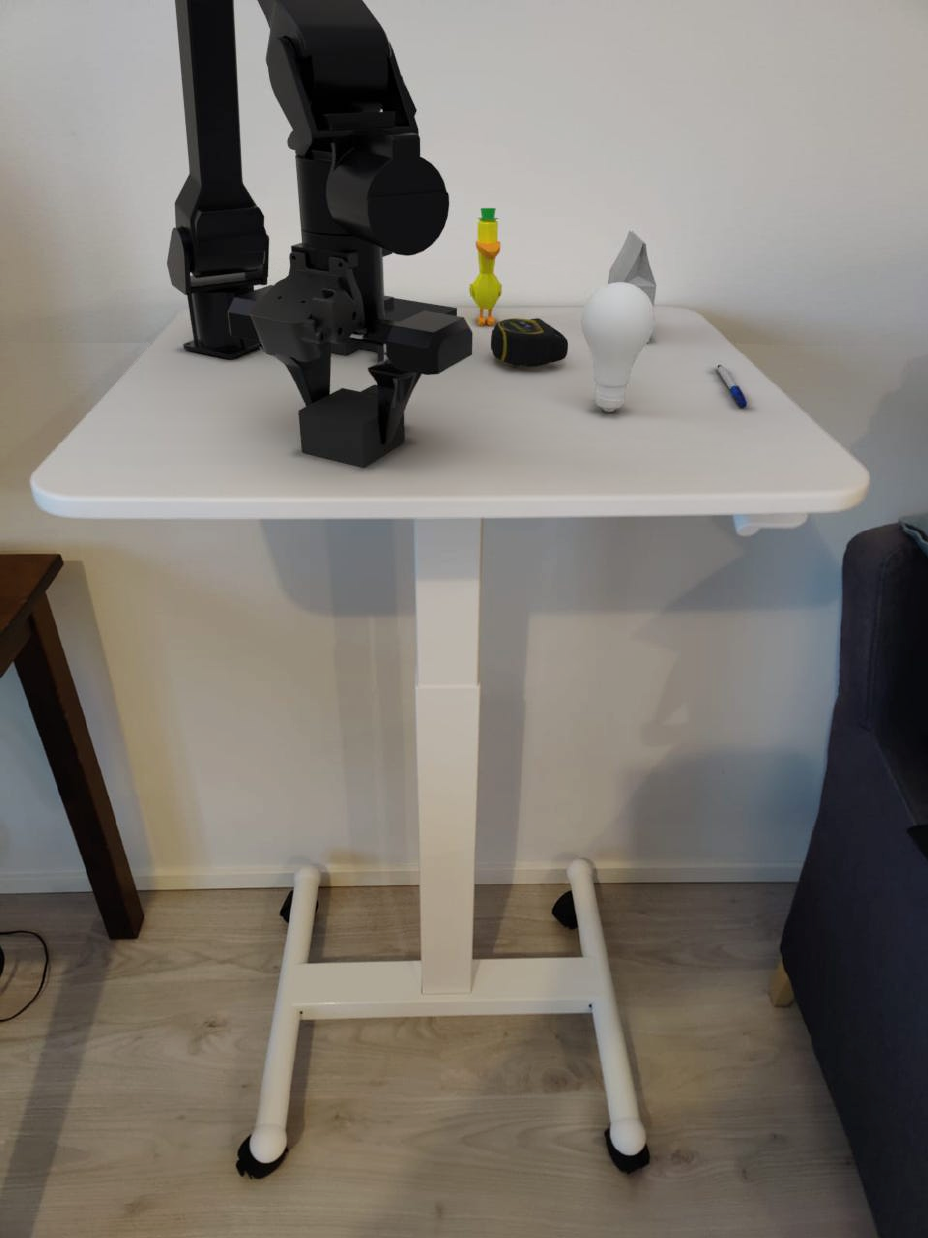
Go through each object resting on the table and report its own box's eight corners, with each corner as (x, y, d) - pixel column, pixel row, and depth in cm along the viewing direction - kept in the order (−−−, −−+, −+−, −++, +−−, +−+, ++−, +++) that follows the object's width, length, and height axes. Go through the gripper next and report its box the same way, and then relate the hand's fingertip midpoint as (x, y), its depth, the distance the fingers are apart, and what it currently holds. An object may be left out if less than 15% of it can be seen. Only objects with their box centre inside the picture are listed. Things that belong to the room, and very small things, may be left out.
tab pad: (301, 452, 74) (297, 410, 72) (357, 419, 79) (355, 380, 77) (364, 468, 71) (362, 425, 69) (417, 433, 77) (417, 393, 75)
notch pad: (317, 349, 95) (314, 315, 93) (370, 325, 103) (369, 293, 101) (408, 367, 91) (407, 331, 89) (456, 341, 98) (457, 307, 96)
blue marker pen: (749, 408, 83) (751, 397, 82) (739, 408, 83) (741, 397, 82) (721, 370, 91) (723, 360, 91) (712, 369, 91) (714, 359, 91)
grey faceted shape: (615, 342, 99) (625, 243, 93) (603, 324, 104) (613, 230, 99) (649, 342, 99) (661, 243, 93) (636, 324, 105) (647, 230, 99)
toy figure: (505, 331, 101) (509, 214, 95) (473, 332, 101) (474, 214, 94) (497, 315, 107) (501, 203, 100) (467, 315, 107) (468, 203, 100)
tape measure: (569, 370, 91) (572, 332, 89) (503, 376, 89) (505, 337, 87) (543, 349, 96) (545, 313, 94) (481, 355, 95) (482, 318, 93)
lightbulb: (648, 404, 84) (664, 278, 77) (636, 427, 79) (652, 295, 73) (582, 395, 85) (593, 271, 79) (566, 418, 80) (576, 288, 74)
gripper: (161, 232, 63) (195, 446, 72) (392, 266, 56) (398, 499, 64) (264, 207, 71) (284, 401, 80) (478, 234, 64) (473, 445, 73)
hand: (353, 434), depth 74 cm, fingers closed on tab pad, 6 cm apart
